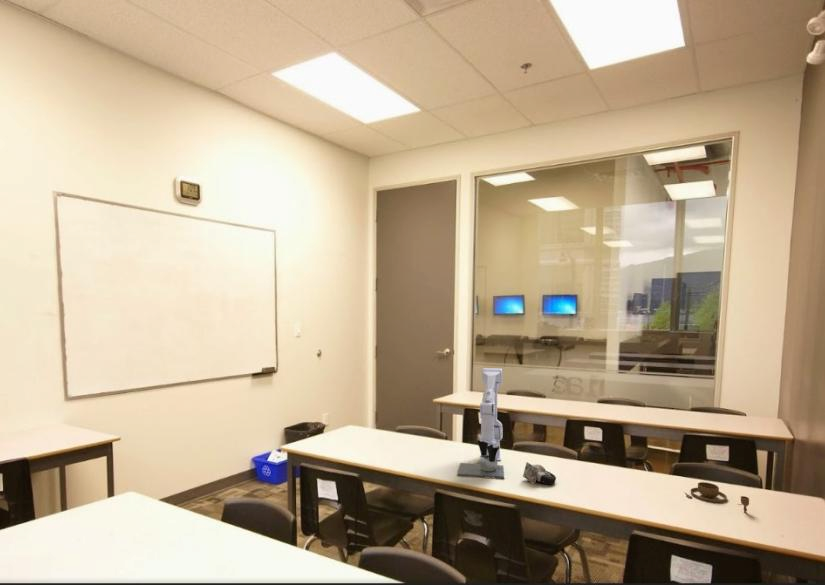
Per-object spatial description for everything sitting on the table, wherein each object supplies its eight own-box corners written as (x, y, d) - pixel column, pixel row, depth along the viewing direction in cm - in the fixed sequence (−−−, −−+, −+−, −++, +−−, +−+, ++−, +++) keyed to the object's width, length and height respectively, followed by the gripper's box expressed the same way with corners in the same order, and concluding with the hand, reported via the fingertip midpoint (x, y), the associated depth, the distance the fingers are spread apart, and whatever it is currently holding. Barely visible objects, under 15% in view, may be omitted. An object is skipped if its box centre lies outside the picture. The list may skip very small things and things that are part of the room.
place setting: (727, 493, 178) (726, 479, 178) (753, 516, 159) (753, 499, 159) (678, 490, 182) (678, 475, 182) (699, 511, 162) (698, 495, 163)
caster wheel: (557, 488, 188) (542, 490, 183) (536, 475, 198) (521, 476, 192) (561, 473, 188) (546, 475, 182) (540, 460, 197) (525, 461, 192)
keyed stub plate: (460, 464, 210) (460, 455, 210) (503, 467, 206) (503, 457, 207) (457, 475, 196) (457, 465, 196) (504, 478, 193) (503, 468, 193)
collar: (480, 466, 204) (480, 455, 204) (490, 465, 205) (490, 454, 206) (486, 470, 198) (486, 459, 198) (497, 469, 200) (497, 458, 200)
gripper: (472, 425, 208) (472, 454, 208) (487, 433, 194) (488, 465, 194) (485, 424, 210) (486, 453, 210) (501, 432, 197) (502, 463, 196)
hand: (487, 458), depth 202 cm, fingers open, 7 cm apart
